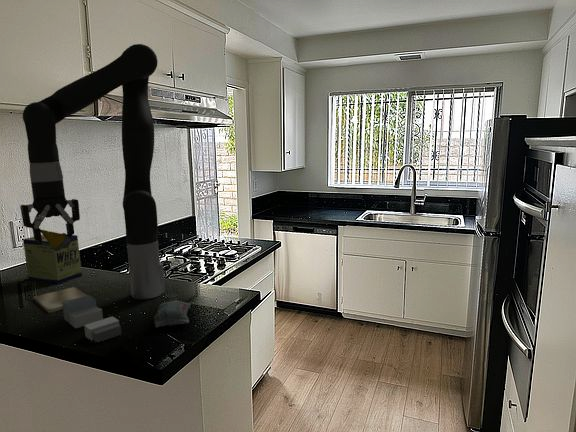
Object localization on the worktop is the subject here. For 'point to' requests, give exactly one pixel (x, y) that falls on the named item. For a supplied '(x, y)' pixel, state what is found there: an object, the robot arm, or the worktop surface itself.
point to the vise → (90, 319)
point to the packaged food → (172, 313)
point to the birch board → (57, 298)
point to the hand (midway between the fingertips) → (55, 239)
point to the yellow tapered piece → (56, 240)
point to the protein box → (52, 261)
